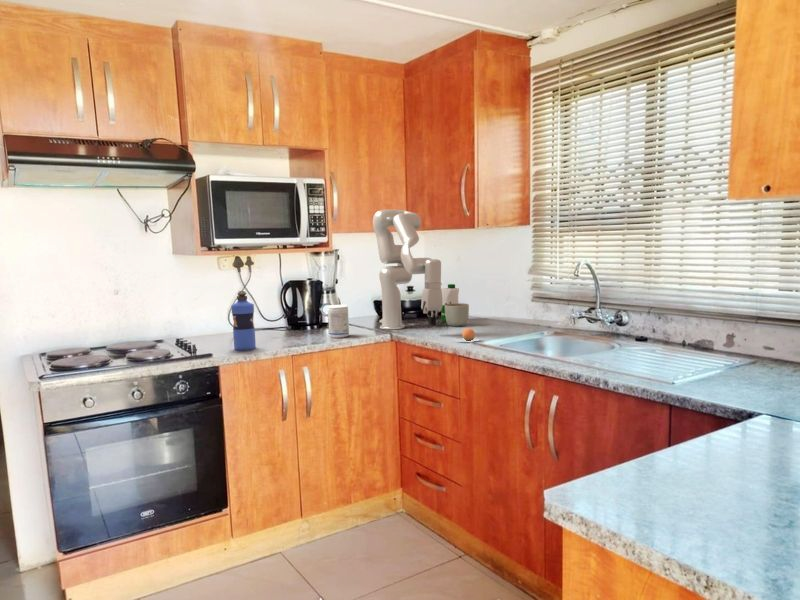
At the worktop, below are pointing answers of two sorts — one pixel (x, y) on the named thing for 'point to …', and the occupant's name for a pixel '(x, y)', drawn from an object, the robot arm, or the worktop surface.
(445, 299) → the milk carton
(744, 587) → the worktop surface
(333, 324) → the supplement tub
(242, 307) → the water bottle
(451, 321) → the planter
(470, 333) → the ball
